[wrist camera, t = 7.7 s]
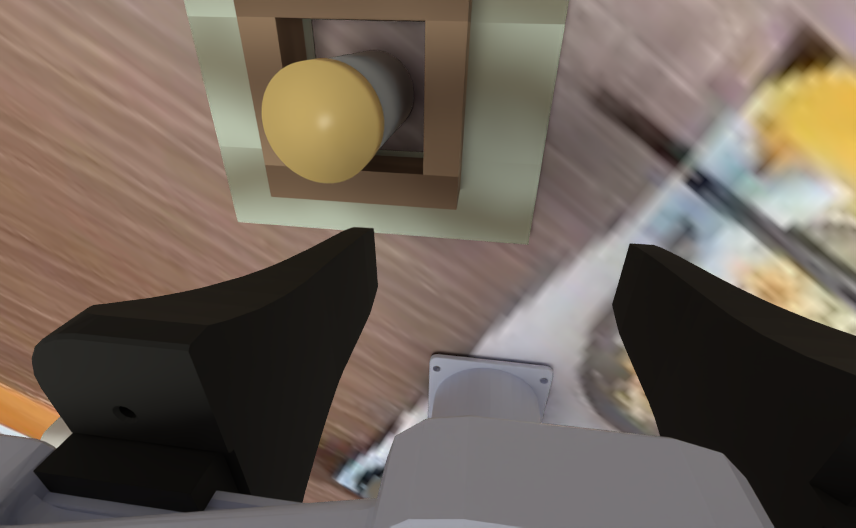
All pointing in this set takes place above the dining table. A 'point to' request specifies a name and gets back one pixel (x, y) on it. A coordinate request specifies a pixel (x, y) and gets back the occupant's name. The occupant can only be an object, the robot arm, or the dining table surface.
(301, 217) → the holder
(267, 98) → the yellow capped shaker
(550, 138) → the dining table surface
